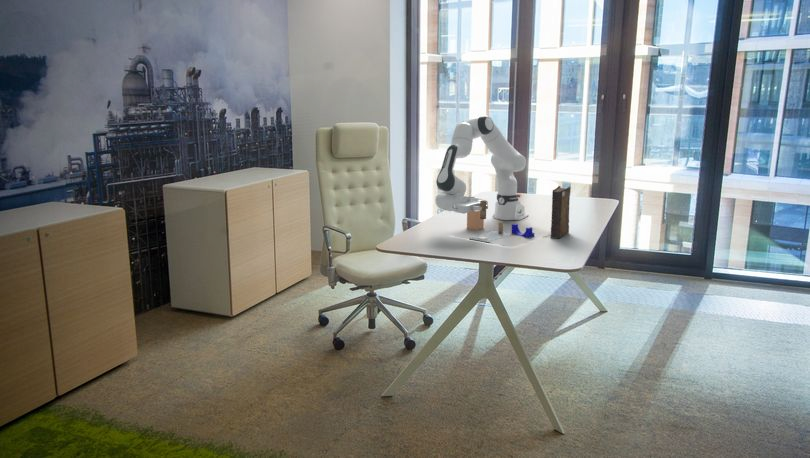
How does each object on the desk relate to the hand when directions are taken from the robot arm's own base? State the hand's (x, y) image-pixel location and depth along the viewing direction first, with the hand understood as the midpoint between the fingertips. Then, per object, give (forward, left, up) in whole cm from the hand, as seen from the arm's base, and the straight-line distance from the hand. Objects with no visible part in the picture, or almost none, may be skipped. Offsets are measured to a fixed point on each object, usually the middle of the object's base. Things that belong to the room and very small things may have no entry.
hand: (484, 208), depth 319 cm
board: (-8, -1, -17) cm, 19 cm away
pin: (0, -1, -5) cm, 6 cm away
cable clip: (-20, +10, -17) cm, 28 cm away
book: (-35, +22, -17) cm, 45 cm away
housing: (-17, -18, -17) cm, 30 cm away
